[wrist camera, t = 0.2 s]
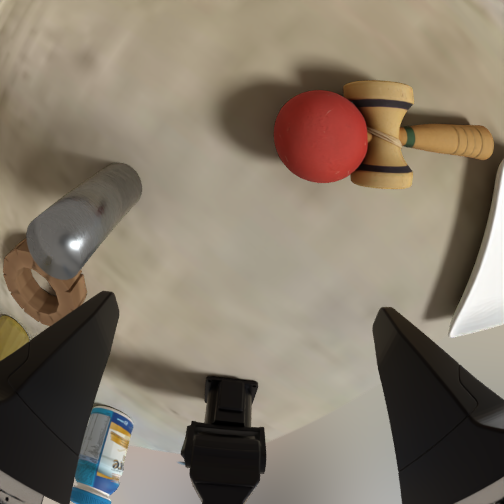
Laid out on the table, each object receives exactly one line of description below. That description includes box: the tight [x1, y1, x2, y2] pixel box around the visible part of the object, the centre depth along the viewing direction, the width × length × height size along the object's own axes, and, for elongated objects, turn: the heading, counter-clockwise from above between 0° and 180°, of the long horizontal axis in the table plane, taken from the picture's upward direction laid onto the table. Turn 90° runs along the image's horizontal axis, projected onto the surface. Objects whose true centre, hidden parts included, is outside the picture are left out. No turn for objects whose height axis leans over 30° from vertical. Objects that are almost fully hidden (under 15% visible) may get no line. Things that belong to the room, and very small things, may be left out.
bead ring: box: [3, 238, 87, 326], centre depth 26 cm, size 10×10×3 cm
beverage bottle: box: [70, 406, 133, 504], centre depth 35 cm, size 8×8×20 cm
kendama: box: [274, 80, 494, 189], centre depth 17 cm, size 8×6×18 cm
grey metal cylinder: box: [26, 163, 142, 280], centre depth 18 cm, size 4×4×10 cm
